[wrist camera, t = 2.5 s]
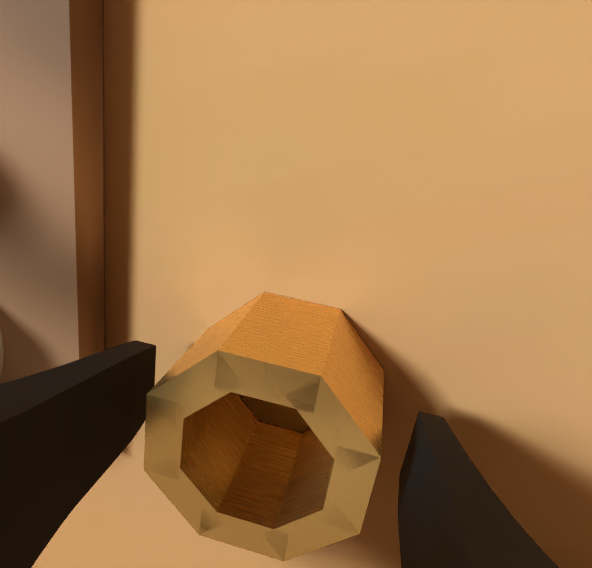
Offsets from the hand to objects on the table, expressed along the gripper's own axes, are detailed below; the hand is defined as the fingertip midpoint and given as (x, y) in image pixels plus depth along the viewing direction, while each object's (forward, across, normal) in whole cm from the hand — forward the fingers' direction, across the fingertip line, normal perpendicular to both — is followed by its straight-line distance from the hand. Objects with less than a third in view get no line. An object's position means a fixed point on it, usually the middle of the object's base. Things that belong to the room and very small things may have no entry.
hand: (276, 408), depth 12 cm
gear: (+1, 0, 0) cm, 1 cm away
